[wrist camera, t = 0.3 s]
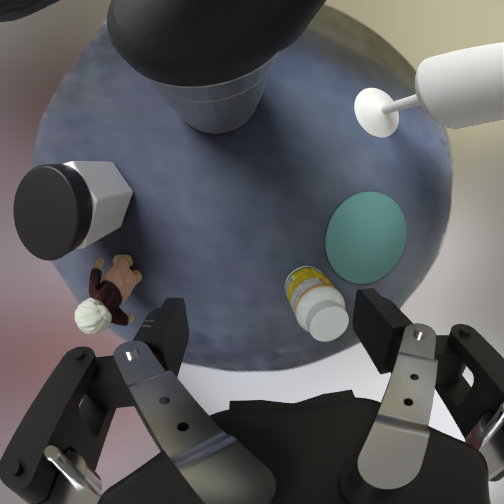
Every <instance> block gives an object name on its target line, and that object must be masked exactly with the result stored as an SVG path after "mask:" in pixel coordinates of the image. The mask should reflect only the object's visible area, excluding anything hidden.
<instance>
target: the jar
mask: <svg viewBox="0 0 504 504" xmlns="http://www.w3.org/2000/svg"><path fill="white" fill-rule="evenodd" d="M132 194H133V191H132V189H131V188H130V186H129V185H128V183H127V182H126V181H125V179H124V178H123V176H122V175H121V173H120V172H119V170H118V169H117V167H116V166H115V164H114V163H113V162H95V161H71V162H68V163H64V164H47V165H40V166H37V167H35V168H33V169H31V170H30V171H29V172H28V173H27V174H26V175H25V176H24V177H23V179H22V180H21V182H20V184H19V186H18V188H17V192H16V195H15V200H14V221H15V226H16V230H17V233H18V235H19V237H20V239H21V241H22V243H23V244H24V246H25V247H26V248H27V249H28V251H29V252H31V253H32V254H33V255H34V256H36V257H38V258H40V259H43V260H49V261H50V260H56V259H59V258H61V257H63V256H64V255H66V254H68V253H69V252H71V251H73V250H74V249H82V248H85V247H87V246H89V245H90V244H92V243H94V242H95V241H97V240H99V239H101V238H102V237H104V236H106V235H108V234H109V233H111V232H113V231H115V230H116V229H118V228H120V227H121V225H122V222H123V219H124V216H125V213H126V210H127V208H128V205H129V202H130V199H131V197H132Z"/></svg>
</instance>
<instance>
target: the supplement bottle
mask: <svg viewBox="0 0 504 504" xmlns="http://www.w3.org/2000/svg"><path fill="white" fill-rule="evenodd" d="M285 294H286V296H287V298H288V301H289V303H290V305H291V308H292V310H293V312H294V314H295V317H296V319H297V321H298V323H299V325H300V326H301V327H302V328H303V329H305V330H306V331H309V332H310V334H311V335H312V337H313V338H315V339H316V340H318V341H322V342H327V341H332V340H334V339H336V338H338V337H339V336H341V335H342V334H343V333H344V332H345V330H346V328H347V326H348V323H349V317H348V314H347V312H346V310H345V302H344V299H343V297H342V295H341V294H340V292H339V291H338V290H337V289H336V288H335V286H334V285H333V284H332V283H331V282H330V280H329V279H328V278H327V277H326V276H325V275H324V273H323V272H322V271H320V270H319V269H317V268H315V267H313V266H302V267H299V268H297V269H295V270H293V271H292V272H291V273H290V274H289V276H288V277H287V279H286V282H285Z"/></svg>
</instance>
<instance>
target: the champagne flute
mask: <svg viewBox="0 0 504 504" xmlns="http://www.w3.org/2000/svg"><path fill="white" fill-rule="evenodd" d="M415 90H416V94H415V95H412V96H409V97H406V98H403V99H400V100H397V101H393V100H392V99H391V97H390V96H389V95H388V94H386V93H385V92H383V91H382V90H379V89H376V88H367V89H364V90H362V91H361V92H360V93H359V94H358V95H357V97H356V100H355V107H354V109H355V114H356V117H357V120H358V122H359V123H360V125H361V126H362V127H363V128H364V130H365V131H367V132H368V133H369V134H371V135H373V136H376V137H381V138H384V137H388V136H390V135H392V134H393V133H394V132H395V130H396V129H397V126H398V123H399V114H398V111H400V110H404V109H408V108H411V107H415V106H419V105H421V106H422V107H423V109H424V110H425V111H426V113H427V114H428V115H429V116H431V117H432V118H433V119H434V120H435V121H437V122H438V123H440V124H441V125H443V126H445V127H448V128H452V129H459V128H464V127H468V126H473V125H478V124H483V123H488V122H493V121H499V120H504V42H502V43H495V44H488V45H482V46H477V47H471V48H466V49H462V50H457V51H453V52H449V53H445V54H441V55H437V56H433V57H429V58H427V59H425V60H423V61H422V62H421V64H420V65H419V67H418V69H417V72H416V76H415Z"/></svg>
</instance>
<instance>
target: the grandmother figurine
mask: <svg viewBox="0 0 504 504" xmlns="http://www.w3.org/2000/svg"><path fill="white" fill-rule="evenodd" d="M132 265H133V260H132V257H131V256H130V255H116V256H115V257H114V258H113V266H112V267H111V268H110V269H109V271H108V272H107V273H106V274H105V275H104V277H103V279H102V281H101V283H100V280H101V274H102V269H103V266H104V259H103V258H97V259H96V261H95V264H94V267H93V269H92V270H91V275H90V283H89V294H90V297H91V298H88V299H87V300H86V301H83V302H82V303H81V304H80V305H78V309H76V311H75V321H76V323H77V325H78V327H79V328H80V330H81V331H83V332H84V333H87V334H94V333H100V332H102V331H103V330H105V329H106V327H110V322H111V323H114V324H117V325H123V326H126V325H128V323H132V322H133V321H134V316H133V314H125V313H124V312H123V311H122V310H121V309H120V308H119V306H120V305H121V304H122V303H123V302H124V301H125V300H126V299H127V298H128V297H129V295H130V294H131V292H132V290H133V288H134V287H135V285H136V284H138V283H139V282H140V281H141V280H142V275H141V273H140V272H139V271H138V270H132V271H131V270H130V269H129V267H131V266H132Z"/></svg>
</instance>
